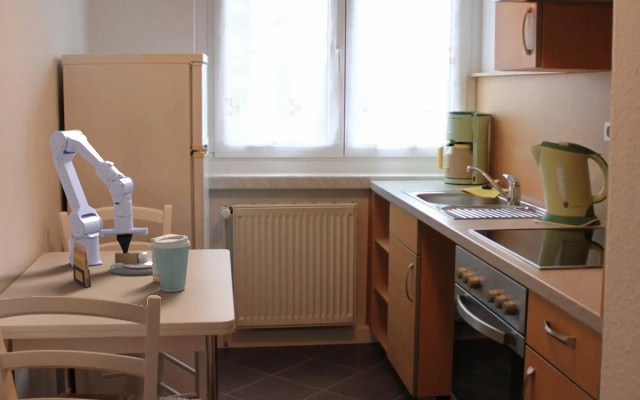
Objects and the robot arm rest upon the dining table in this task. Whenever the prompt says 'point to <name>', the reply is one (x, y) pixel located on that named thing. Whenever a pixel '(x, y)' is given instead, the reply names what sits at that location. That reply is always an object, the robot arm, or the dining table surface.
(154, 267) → the supplement box
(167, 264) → the disposable coffee cup
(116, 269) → the dial base
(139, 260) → the dial
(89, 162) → the robot arm
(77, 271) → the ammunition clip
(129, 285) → the dining table surface
